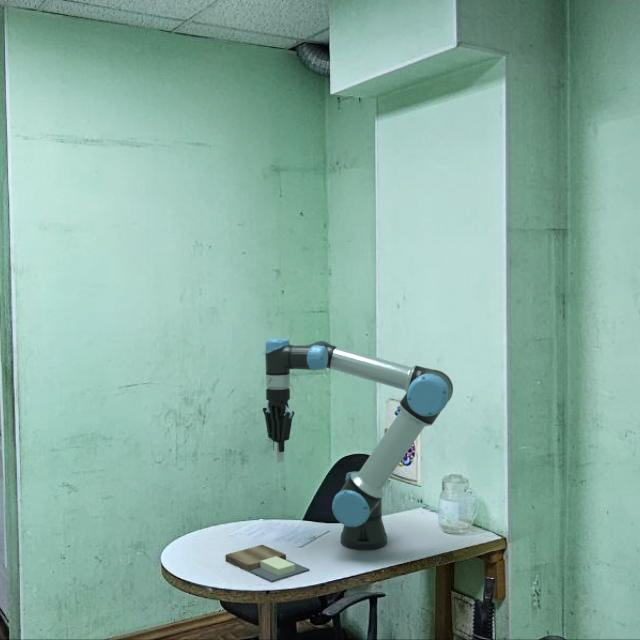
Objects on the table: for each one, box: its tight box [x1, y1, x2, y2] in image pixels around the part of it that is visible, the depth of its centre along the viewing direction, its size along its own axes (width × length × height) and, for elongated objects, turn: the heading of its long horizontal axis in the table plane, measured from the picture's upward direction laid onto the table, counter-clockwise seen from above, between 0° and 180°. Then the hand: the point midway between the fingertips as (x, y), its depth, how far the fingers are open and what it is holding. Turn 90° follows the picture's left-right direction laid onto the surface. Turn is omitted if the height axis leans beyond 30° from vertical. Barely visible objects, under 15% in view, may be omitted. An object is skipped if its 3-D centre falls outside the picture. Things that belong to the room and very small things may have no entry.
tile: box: [260, 556, 295, 576], centre depth 246 cm, size 9×6×2 cm, turn 40°
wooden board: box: [225, 544, 287, 573], centre depth 255 cm, size 14×12×2 cm
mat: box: [249, 559, 310, 583], centre depth 246 cm, size 14×10×1 cm
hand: (279, 461), depth 264 cm, fingers closed
